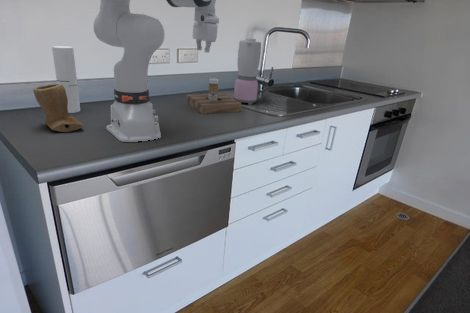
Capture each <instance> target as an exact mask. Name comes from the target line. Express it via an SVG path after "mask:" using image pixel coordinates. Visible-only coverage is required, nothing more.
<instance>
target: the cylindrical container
mask: <svg viewBox="0 0 470 313" xmlns="http://www.w3.org/2000/svg"><path fill="white" fill-rule="evenodd" d="M51 50H52V56H53V63H54V64H53V65H54V70H55V76H56V78H55V80H56V84H62V85H63V86H64V88H65V91H66V95H67V99H68V106H67V107H68V114H75V113H79V112H81V104H80V97H79V94H80V93H79V88H78V86H79V85H78V77H77V71H76V70H77V69H76V61H75V60H76V58H75V53H74V52H75V51H74V47H73V46H67V45H53V46H51Z"/></svg>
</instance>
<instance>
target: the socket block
mask: <svg viewBox="0 0 470 313" xmlns="http://www.w3.org/2000/svg"><path fill="white" fill-rule="evenodd" d="M186 103H187V104H188V105H189V106H190V107H192V108H193V109H195V110H196V111H197V112H198V113H200V114H201V115H205V114H207V113H209V114H221V113H222V114H223V113H224V112H226V113H239V111H241V112H242V104H243V102H238V101H236V100H234V97H233V98H232V97H231V96H228V95H227V94H225V93H218V99H217V101H210V100H209V93H208V94H207V93H206V94H205V93H204V94H203V93H202V94H187V95H186ZM224 114H225V113H224Z"/></svg>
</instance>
